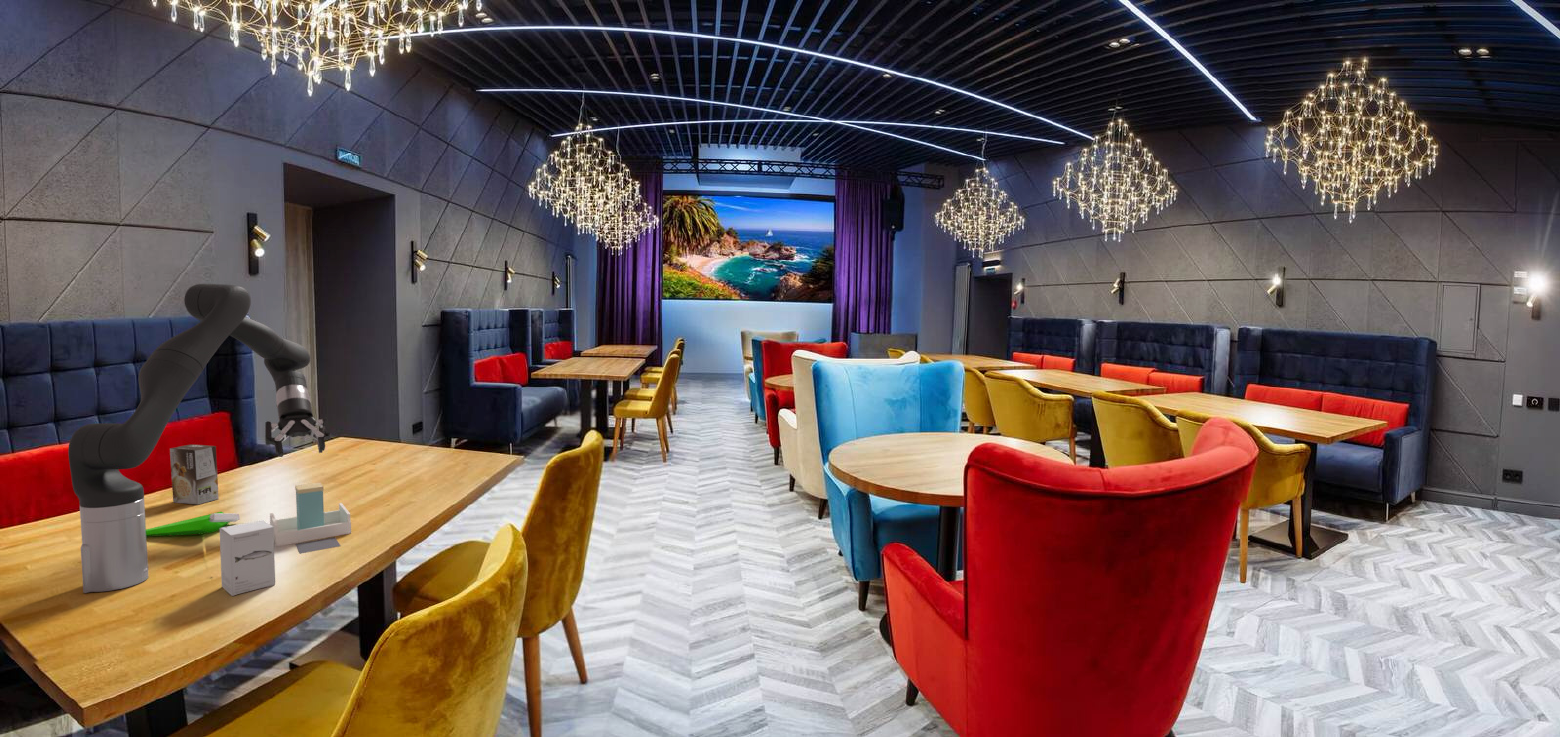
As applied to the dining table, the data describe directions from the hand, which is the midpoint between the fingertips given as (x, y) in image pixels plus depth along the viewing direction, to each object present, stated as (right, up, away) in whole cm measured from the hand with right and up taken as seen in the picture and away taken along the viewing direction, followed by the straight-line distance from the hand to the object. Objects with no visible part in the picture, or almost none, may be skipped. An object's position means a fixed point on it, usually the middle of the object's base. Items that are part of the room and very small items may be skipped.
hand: (301, 453), depth 173 cm
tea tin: (+8, -19, -7) cm, 22 cm away
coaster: (+15, -21, -16) cm, 30 cm away
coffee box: (-44, -17, +18) cm, 51 cm away
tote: (+8, -20, -7) cm, 22 cm away
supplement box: (+17, -23, -38) cm, 47 cm away
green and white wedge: (-24, -20, -10) cm, 32 cm away
